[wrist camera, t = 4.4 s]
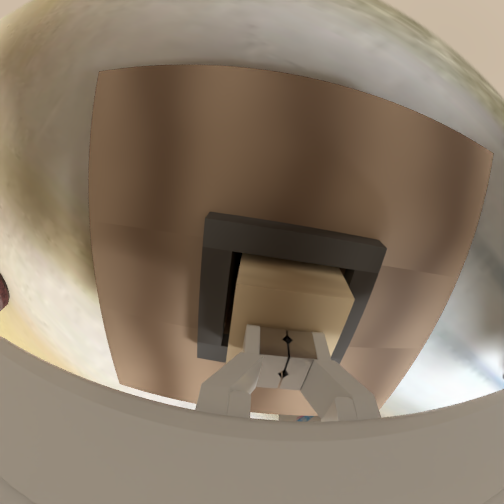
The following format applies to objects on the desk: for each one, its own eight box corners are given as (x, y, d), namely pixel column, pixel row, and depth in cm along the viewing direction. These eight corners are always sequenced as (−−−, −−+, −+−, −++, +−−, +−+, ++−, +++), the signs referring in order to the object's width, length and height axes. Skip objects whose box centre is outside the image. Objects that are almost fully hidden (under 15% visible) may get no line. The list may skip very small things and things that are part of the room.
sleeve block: (423, 142, 16) (505, 155, 8) (355, 349, 24) (378, 423, 16) (159, 92, 16) (87, 68, 8) (152, 322, 24) (115, 393, 16)
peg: (315, 224, 18) (354, 299, 9) (301, 281, 19) (321, 377, 11) (250, 213, 18) (236, 283, 9) (241, 272, 19) (225, 367, 11)
